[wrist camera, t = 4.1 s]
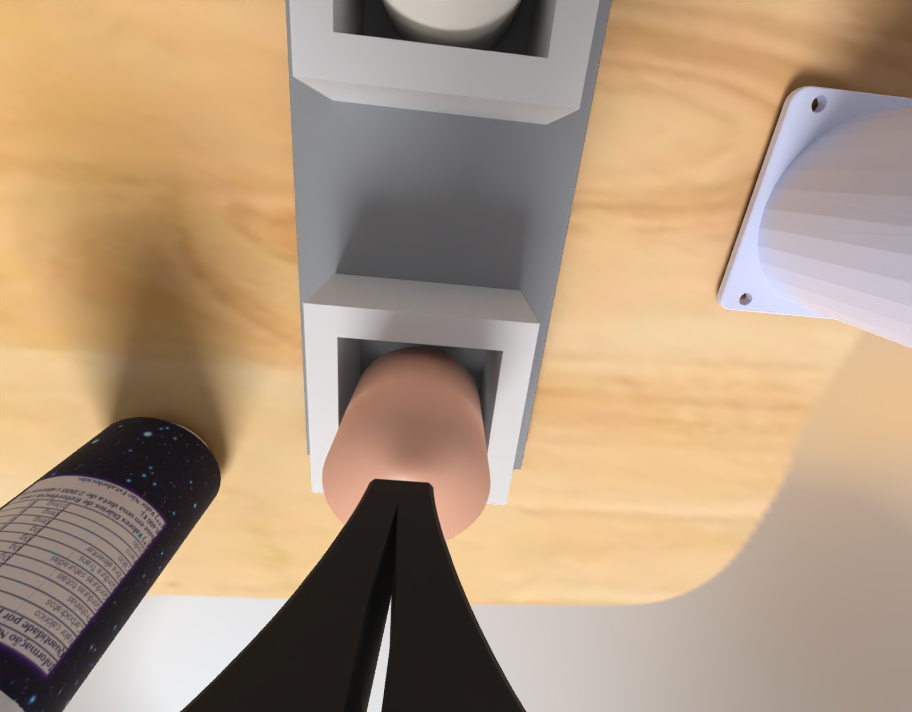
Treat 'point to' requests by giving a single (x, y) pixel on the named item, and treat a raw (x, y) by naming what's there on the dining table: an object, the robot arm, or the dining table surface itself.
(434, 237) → the plug panel
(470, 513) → the terracotta plug
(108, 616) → the beverage can
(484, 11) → the cream plug
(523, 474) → the dining table surface
